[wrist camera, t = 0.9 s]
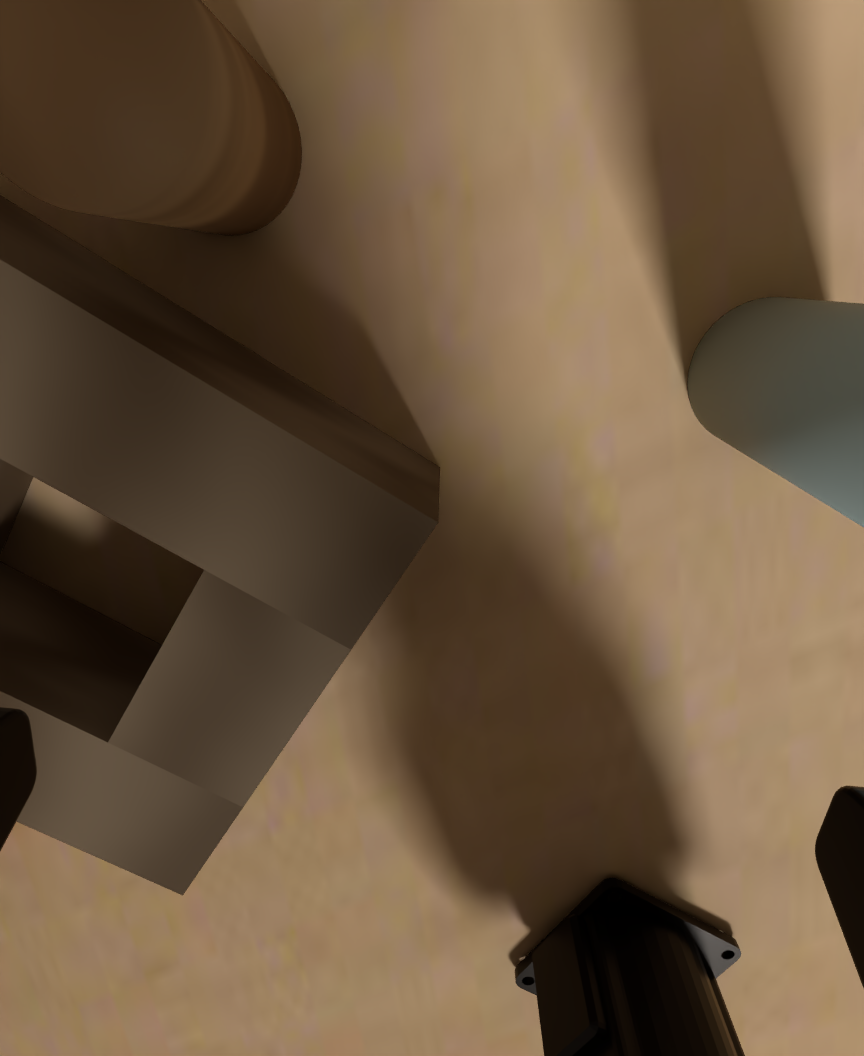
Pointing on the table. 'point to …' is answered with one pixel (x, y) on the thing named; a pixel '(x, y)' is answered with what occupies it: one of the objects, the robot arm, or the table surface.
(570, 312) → the table surface
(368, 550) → the socket block
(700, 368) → the peg
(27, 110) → the walnut peg
